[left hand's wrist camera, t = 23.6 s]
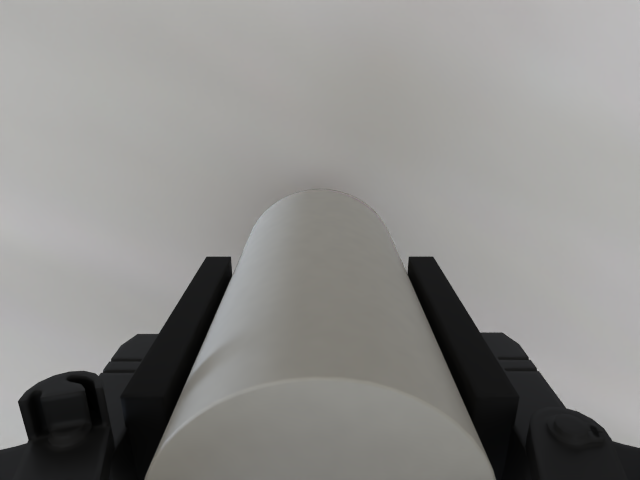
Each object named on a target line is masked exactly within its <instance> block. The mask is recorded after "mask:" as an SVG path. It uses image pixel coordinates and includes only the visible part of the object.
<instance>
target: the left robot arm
mask: <svg viewBox="0 0 640 480" xmlns="http://www.w3.org/2000/svg"><path fill="white" fill-rule="evenodd" d="M408 277H409V279H410V282H411V284H412V286H413V288H414V291H415V293H416V295H417V297H418V300H419V302H420V304H421V307H422V309H423V311H424V313H425V316H426V318H427V320H428V323H429V325H430V327H431V329H432V332H433V334H434V336H435V338H436V341H437V343H438V345H439V348H440V350H441V352H442V354H443V357H444V359H445V361H446V364H447V366H448V368H449V370H450V373H451V375H452V377H453V379H454V382H455V384H456V386H457V389H458V391H459V393H460V395H461V398H462V400H463V402H464V405H465V407H466V409H467V411H468V414H469V416H470V418H471V421H472V423H473V425H474V427H475V430H476V432H477V434H478V436H479V439H480V441H481V443H482V446H483V448H484V450H485V452H486V455H487V457H488V459H489V462H490V464H491V466H492V468H493V471H494V474H495V478H496V480H640V448H637V447H633V446H628V445H624V444H620V443H617V442H614V441H612V440H611V438H610V437H609V435H608V434H607V432H606V431H605V429H604V428H603V427H601V426H600V425H599V424H598V423H596V422H595V421H594V420H593V419H591V418H589V417H587V416H585V415H583V414H581V413H579V412H577V411H573V410H570V409H566V408H565V406H564V405H563V403H562V402H561V401H560V399H559V398H558V397H557V395H556V394H555V393H554V391H553V390H552V389H551V387H550V386H549V384H548V383H547V382H546V380H545V379H544V378H543V376H542V375H541V374H540V372H539V371H537V368H536V367H535V365H534V364H533V363H532V361H531V360H529V357H528V356H527V355H526V353H525V352H524V350H523V349H522V348H521V346H520V345H519V344H518V343H517V342H515V341H514V340H512V339H511V338H509V337H508V336H506V335H505V334H503V333H480V332H479V330H478V329H477V327H476V325H475V324H474V322H473V320H472V319H471V317H470V316H469V314H468V312H467V311H466V309H465V308H464V306H463V304H462V303H461V301H460V299H459V298H458V296H457V295H456V293H455V291H454V290H453V288H452V286H451V285H450V283H449V282H448V280H447V278H446V277H445V275H444V274H443V272H442V270H441V269H440V267H439V265H438V264H437V262H436V261H435V259H434V257H409V262H408ZM231 278H232V266H231V257H206V259H205V260H204V262H203V263H202V265H201V267H200V268H199V270H198V271H197V273H196V275H195V276H194V278H193V280H192V281H191V283H190V284H189V286H188V288H187V289H186V291H185V292H184V294H183V296H182V297H181V299H180V301H179V302H178V304H177V305H176V307H175V309H174V310H173V312H172V313H171V315H170V317H169V318H168V320H167V322H166V323H165V325H164V326H163V328H162V330H161V331H160V333H159V334H137V335H136V336H134V337H133V338H131V339H130V340H128V341H127V342H126V343H124V344H123V345H121V346H120V348H119V349H118V351H117V352H116V353H115V355H114V356H113V357H112V359H111V362H109V363H108V364H107V366H106V367H105V368H104V370H103V373H101V374H100V375H99V376H98V375H97V374H95V373H91V372H87V371H73V372H66V373H62V374H58V375H54V376H52V377H50V378H47V379H45V380H43V381H41V382H39V383H37V384H36V385H34V386H33V387H31V388H30V389H29V390H27V391H26V392H25V393H24V394H23V396H22V397H21V398H20V399H19V401H18V404H19V407H20V411H21V414H22V418H23V422H24V425H25V429H26V432H27V436H28V439H29V440H28V443H26V444H23V445H19V446H16V447H12V448H7V449H3V450H0V480H145V476H146V473H147V471H148V469H149V467H150V464H151V462H152V460H153V457H154V455H155V453H156V450H157V448H158V446H159V443H160V441H161V439H162V437H163V434H164V432H165V430H166V427H167V425H168V423H169V420H170V418H171V416H172V414H173V411H174V409H175V407H176V404H177V402H178V400H179V397H180V395H181V393H182V390H183V388H184V386H185V384H186V381H187V379H188V377H189V374H190V372H191V370H192V367H193V365H194V363H195V361H196V358H197V356H198V354H199V351H200V349H201V347H202V344H203V342H204V340H205V337H206V335H207V333H208V331H209V328H210V326H211V324H212V321H213V319H214V317H215V314H216V312H217V310H218V308H219V305H220V303H221V301H222V298H223V296H224V294H225V291H226V289H227V287H228V284H229V282H230V280H231Z"/></svg>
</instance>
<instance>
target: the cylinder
mask: <svg viewBox="0 0 640 480" xmlns="http://www.w3.org/2000/svg"><path fill="white" fill-rule="evenodd" d="M145 480H496V478H495V474H494V471H493V468H492V466H491V464H490V462H489V459H488V457H487V455H486V452H485V450H484V448H483V446H482V443H481V441H480V439H479V436H478V434H477V432H476V430H475V427H474V425H473V423H472V421H471V418H470V416H469V414H468V411H467V409H466V407H465V405H464V402H463V400H462V398H461V395H460V393H459V391H458V389H457V386H456V384H455V382H454V379H453V377H452V375H451V373H450V370H449V368H448V366H447V364H446V361H445V359H444V357H443V354H442V352H441V350H440V348H439V345H438V343H437V341H436V338H435V336H434V334H433V332H432V329H431V327H430V325H429V323H428V320H427V318H426V316H425V313H424V311H423V309H422V307H421V304H420V302H419V300H418V297H417V295H416V293H415V291H414V288H413V286H412V284H411V282H410V279H409V277H408V275H407V272H406V270H405V268H404V266H403V263H402V261H401V259H400V256H399V254H398V252H397V250H396V247H395V245H394V243H393V240H392V238H391V236H390V234H389V232H388V230H387V228H386V226H385V224H384V222H383V221H382V220H381V218H380V217H379V216H378V215H377V213H376V212H375V211H374V210H373V209H372V208H370V207H369V206H368V205H367V204H365V203H364V202H362V201H361V200H359V199H357V198H355V197H353V196H351V195H349V194H346V193H343V192H339V191H334V190H328V189H313V190H306V191H301V192H297V193H294V194H291V195H289V196H287V197H285V198H283V199H281V200H279V201H278V202H276V203H275V204H273V205H272V206H271V207H270V208H268V209H267V210H266V211H265V212H264V213H263V214H262V216H261V217H260V218H259V219H258V221H257V222H256V224H255V226H254V227H253V229H252V232H251V234H250V236H249V238H248V241H247V243H246V245H245V248H244V250H243V252H242V255H241V257H240V259H239V261H238V264H237V266H236V268H235V271H234V273H233V275H232V278H231V280H230V282H229V284H228V287H227V289H226V291H225V294H224V296H223V298H222V301H221V303H220V305H219V308H218V310H217V312H216V314H215V317H214V319H213V321H212V324H211V326H210V328H209V331H208V333H207V335H206V337H205V340H204V342H203V344H202V347H201V349H200V351H199V354H198V356H197V358H196V361H195V363H194V365H193V367H192V370H191V372H190V374H189V377H188V379H187V381H186V384H185V386H184V388H183V390H182V393H181V395H180V397H179V400H178V402H177V404H176V407H175V409H174V411H173V414H172V416H171V418H170V420H169V423H168V425H167V427H166V430H165V432H164V434H163V437H162V439H161V441H160V443H159V446H158V448H157V450H156V453H155V455H154V457H153V460H152V462H151V464H150V467H149V469H148V471H147V473H146V476H145Z"/></svg>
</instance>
